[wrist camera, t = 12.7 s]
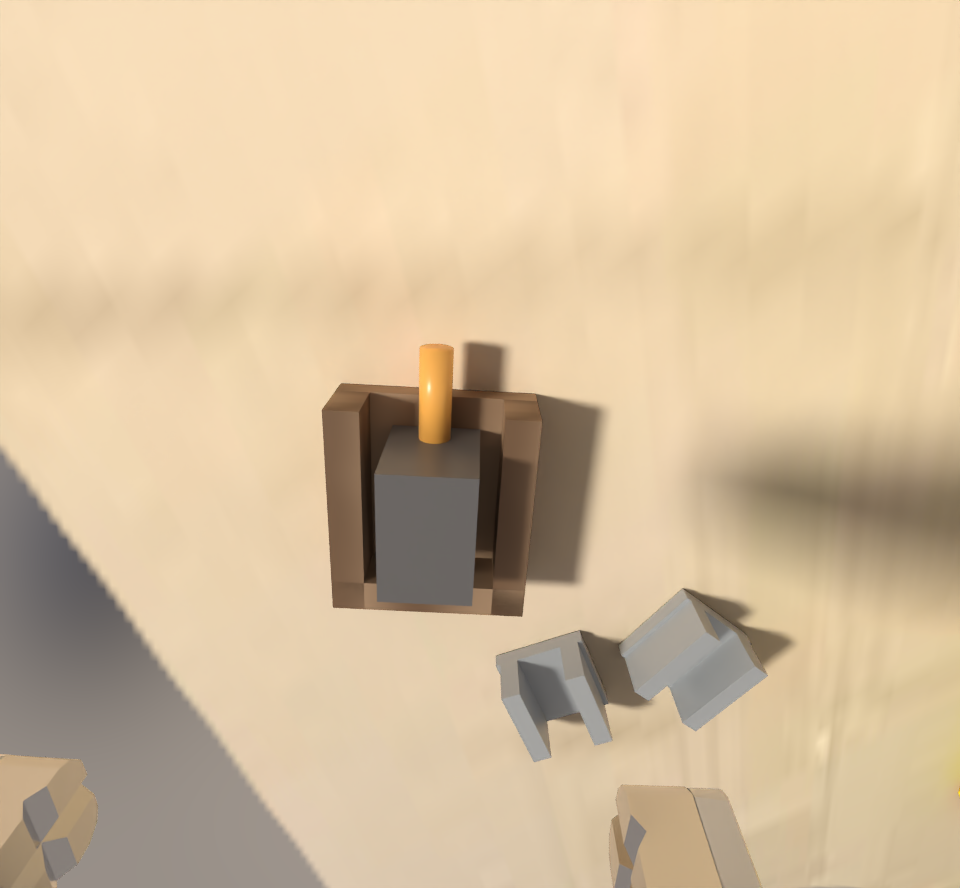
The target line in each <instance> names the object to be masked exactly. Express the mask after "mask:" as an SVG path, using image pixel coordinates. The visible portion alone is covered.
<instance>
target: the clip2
mask: <svg viewBox="0 0 960 888" xmlns="http://www.w3.org/2000/svg"><path fill="white" fill-rule="evenodd" d="M496 667H497V669H498V671H499V673H500V675H501V700H502V701H503V703H504V705H505V707H506V709H507V711H508V713H509V715H510V717H511V719H512V721H513V723H514V725H515V726H516V728H517V730H518V732H519V734H520V736H521V738H522V740H523V742H524V744H525V746H526V748H527V750H528V751H529V753H530V755H531V757H532V759H533V761H534V762H536V761H540V760H544V759H547V758H551V751H550V743H549V734H548V725H547V721H549V720H553V719H557V718H560V717H564V716H567V715H571V714H574V713H578V712H580V714H581V716H582V718H583V721H584V723H585V725H586V727H587V729H588V732H589V734H590V736H591V738H592V740H593V742H594V745H599V744H603V743H606V742H610V741H613V740H612V736H611V731H610V727H609V723H608V718H607V714H606V710H605V705H606V704H609V703H608V699H607V695H606V692H605V689H604V687H603V685H602V682H601V680H600V678H599V675H598V673H597V671H596V668H595V666H594V663H593V661H592V659H591V656H590V654H589V652H588V649H587V647H586V645H585V642H584V640H583V637H582V635H581V633H580V630H579V631H576V632H573V633H569V634H566V635H563V636H560V637H556V638H553V639H550V640H546V641H543V642H540V643H537V644H533V645H530V646H527V647H523V648H520V649H517V650H514V651H510V652H507V653H504V654H501V655H497V656H496Z"/></svg>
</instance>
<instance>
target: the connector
mask: <svg viewBox="0 0 960 888" xmlns="http://www.w3.org/2000/svg"><path fill="white" fill-rule="evenodd" d="M453 355H454V348H453V347H451V346H448V345H443V344H426V345H422V346H420V357H419V426H402V425H393V426H392V429H391V431H390V434H389V436H388V439H387V442H386V444H385V447H384V450H383V452H382V455H381V458H380V460H379V463H378V466H377V468H376V471H375V473H374V486H375V532H376V578H377V602H390V603H412V604H434V605H455V606H472V600H473V583H474V566H475V549H476V532H477V515H478V497H479V480H480V429H461V428H451V412H452V383H453Z"/></svg>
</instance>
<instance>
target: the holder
mask: <svg viewBox="0 0 960 888" xmlns="http://www.w3.org/2000/svg"><path fill="white" fill-rule="evenodd" d="M322 421H323V438H324V456H325V474H326V492H327V509H328V527H329V545H330V562H331V580H332V598H333V608H353V609H374V610H395V611H416V612H437V613H458V614H479V615H500V616H521V617H522V614H523V604H524V594H525V585H526V575H527V565H528V556H529V546H530V536H531V527H532V517H533V507H534V498H535V488H536V478H537V469H538V459H539V449H540V440H541V430H542V418H541V414H540V410H539V406H538V402H537V398H536V394H528V393H509V392H490V391H472V390H453V389H452V412H451V428H461V429H480V480H479V497H478V515H477V532H476V549H475V566H474V583H473V600H472V606H455V605H434V604H412V603H390V602H377V578H376V532H375V486H374V473H375V471H376V468H377V466H378V463H379V460H380V458H381V455H382V452H383V450H384V447H385V444H386V442H387V439H388V436H389V434H390V431H391V429H392V426H393V425H402V426H419V388H415V387H397V386H378V385H359V384H340V385H339V387H338V388H337V390H336V391H335V392H334V394H333V395H332V397H331V398H330V399H329V401H328V402H327V404H326V405H325V406H324V408H323V409H322Z"/></svg>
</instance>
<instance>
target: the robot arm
mask: <svg viewBox="0 0 960 888" xmlns="http://www.w3.org/2000/svg"><path fill="white" fill-rule="evenodd" d="M86 776H87V773H86V770H85V768H84V765H83V763H82V761H81V760H79V759H78V760H77V759H63V758H47V757H31V756H15V755H5V754H0V888H57V880H58V879H60V878H61V877H62V876H63V875H65V874H66V873H67V872H68V871H70V870H71V869H72V868H74V867H75V866H76V865H77V864H78V863H79V861H80V859H81V858H82V855H83V854H84V852H85V851H86V849H87V847H88V845H89V844H90V841H91V838H92V835H93V832H94V829H95V826H96V823H97V814H98V805H97V801H96V799H95V795H94V794H93V793H92V792H91V791H89V790H88V789H87V788H86V787H84V786H83V785H82V784H81V783H82V782H83V780H84V779H85V777H86ZM616 805H617V810H618V815H617V816H615V817H614V818H613V819H612V820H611V826H610V833H609V859H610V870H611V877H612V883H613V888H762V885H761V883H760V880H759V878H758V875H757V872H756V870H755V867H754V864H753V862H752V859H751V857H750V854H749V851H748V849H747V846H746V843H745V841H744V838H743V836H742V833H741V830H740V828H739V825H738V822H737V820H736V817H735V814H734V812H733V809H732V807H731V804H730V801H729V799H728V797H727V796H726V794H725V793H724V792H723V791H722V790H720V789H706V788H686V787H681V786H648V785H621V786H620V787H619V788H618V792H617V796H616Z"/></svg>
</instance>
